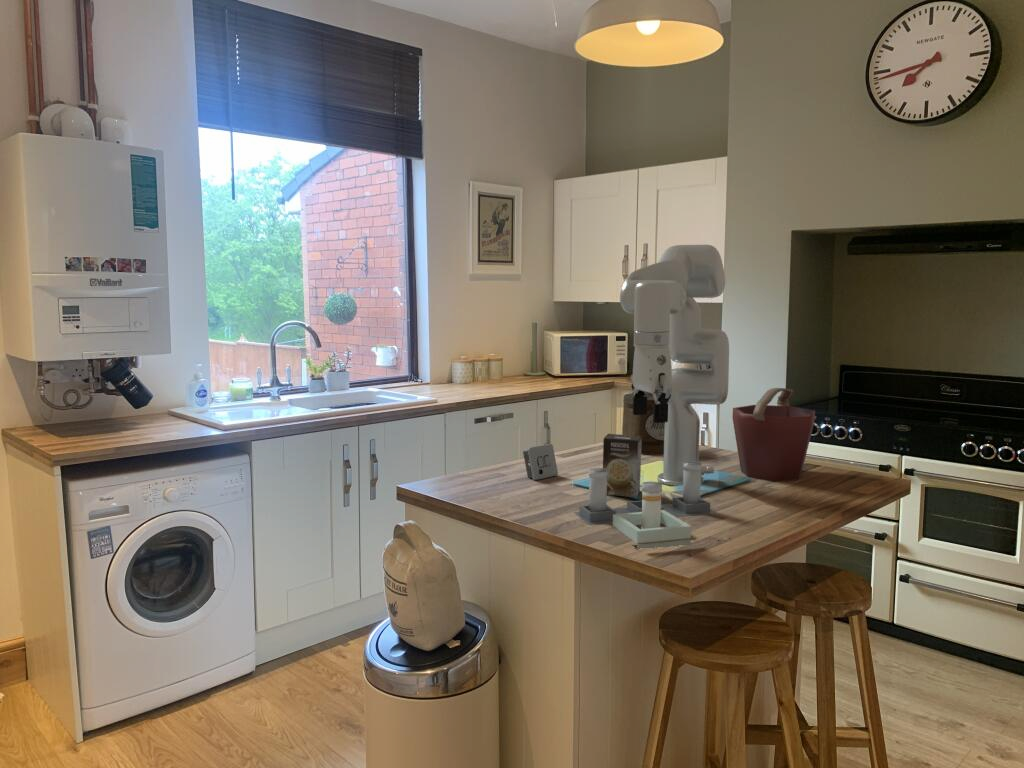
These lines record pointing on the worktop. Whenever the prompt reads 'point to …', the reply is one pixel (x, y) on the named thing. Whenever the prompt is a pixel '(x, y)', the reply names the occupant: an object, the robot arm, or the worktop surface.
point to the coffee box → (622, 464)
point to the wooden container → (643, 426)
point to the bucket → (772, 437)
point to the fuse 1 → (597, 489)
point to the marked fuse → (651, 504)
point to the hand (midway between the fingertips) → (649, 418)
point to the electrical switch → (540, 462)
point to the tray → (653, 530)
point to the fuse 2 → (691, 482)
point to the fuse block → (636, 506)
